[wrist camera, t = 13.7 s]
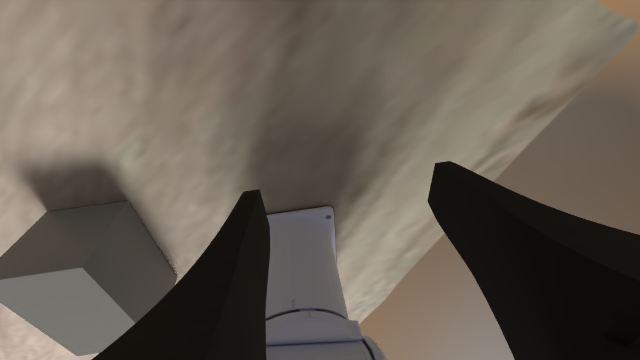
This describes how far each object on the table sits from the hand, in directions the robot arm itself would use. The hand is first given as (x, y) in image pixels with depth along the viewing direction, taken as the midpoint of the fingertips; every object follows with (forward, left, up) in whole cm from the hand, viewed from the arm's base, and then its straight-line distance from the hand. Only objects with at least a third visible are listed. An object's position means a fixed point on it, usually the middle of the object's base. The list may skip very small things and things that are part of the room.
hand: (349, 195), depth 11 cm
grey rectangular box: (-10, +19, -10) cm, 23 cm away
